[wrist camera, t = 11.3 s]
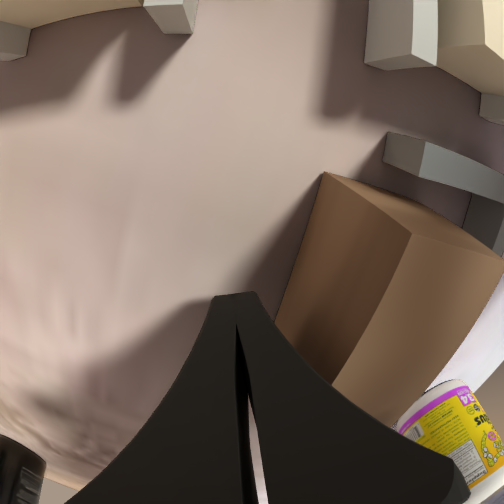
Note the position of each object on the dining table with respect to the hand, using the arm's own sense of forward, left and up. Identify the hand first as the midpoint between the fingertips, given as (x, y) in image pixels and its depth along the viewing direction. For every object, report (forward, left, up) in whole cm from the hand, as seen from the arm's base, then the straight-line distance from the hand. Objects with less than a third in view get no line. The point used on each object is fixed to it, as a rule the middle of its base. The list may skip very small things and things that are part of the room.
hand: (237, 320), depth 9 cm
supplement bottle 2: (-16, +11, -2) cm, 20 cm away
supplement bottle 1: (+22, +24, -2) cm, 33 cm away
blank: (-4, 0, -2) cm, 4 cm away
